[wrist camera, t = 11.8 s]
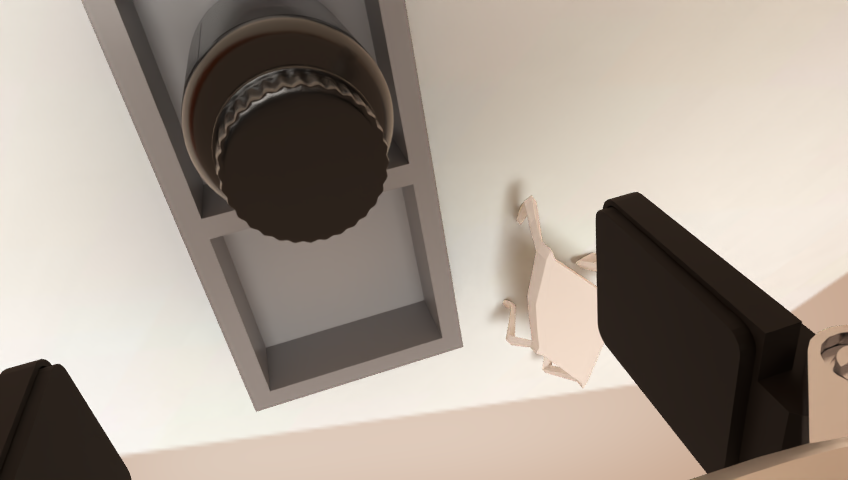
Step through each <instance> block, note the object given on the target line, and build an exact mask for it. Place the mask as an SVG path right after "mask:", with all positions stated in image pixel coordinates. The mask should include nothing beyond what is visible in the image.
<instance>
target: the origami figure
mask: <svg viewBox="0 0 848 480" xmlns="http://www.w3.org/2000/svg"><path fill="white" fill-rule="evenodd" d="M527 216H528V221H529V226H530V230H531V234H532V237H533V241H534V245H535V249H536V254H535V259H534V264H533V270H532V275H531V280H530V285H529V290H528V295H527V300H528V311H529V321H530V328H531V335H532V340H527V339H523V338H518V337H515V314H516V305H515V304H513V303H512V302H510V301H507V300H504V301H503V305H504V306H505V307H506V308H510V309H511V310H510V317H509V323H508V330H507V336H506V340H507V341H508V342H509V343H510V344H511V345H515V346H523V347H531V348H532V350H533V351H534V352H535V353H536V354H540V355H543V356H544V360H543V367H542V369H543V370H544V372H545V373H549V374H552V375H555V376H559V377H562V378H566V379H569V380H573V381H577V382H578V383H579V384H580V386H581V387H582V388H584V386H585V385H586V383H587V381H588V379H589V377H590V375H591V372H592V370H593V368H594V366H595V363H596V361H597V358H598V356H599V354H600V351H601V349H602V346H603V345H604V342H603V340H602V338H601V336H600V333H599V329H598V322H597V286H596V285H594V284H593V283H591V282H590V281H588V280H587V279H585V278H584V277H582V276H581V275H579V274H578V273H576V272H575V271H573V270H572V269H570V268H569V267H567V266H566V265H564V264H563V263H561V262H560V261H558V260H557V259H555V257H554V254H553V251H552V249H551V248H549V247H548V246H547V245H546V244H545V243H543V241H542V235H541V228H540V222H539V215H538V209H537V202H536V201H535V199H534V198H533V196H532V195H531V196H530V197H529V198H528V199H526V200H525V201H524V202H523V203H522V205H521V207H520V210H519V213H518V216H517V220H516V221H517V222H518V223H519V224H520V225H521V224H522V222H523V221H524V219H525V218H526V217H527ZM594 262H596V254H594V253H591V254H589V255H587V256H585V257H584V258H582V259H580V260H578V261H577V263H576V265H578V266H579V267H581V268H583V269H587V270H591V271H595V272H597V264H596V263H594ZM552 362H553V363H555V364H556V365H557V366H559V367H557V366H552Z"/></svg>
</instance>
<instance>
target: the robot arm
mask: <svg viewBox="0 0 848 480" xmlns="http://www.w3.org/2000/svg"><path fill="white" fill-rule="evenodd" d="M596 264H597V322H598V329H599V333H600V336H601V338H602V340H603V342H604V343H605V345H606V346H607V347H608V348H609V350H610V351H611V352H612V354H613V355H614V356H615V357H616V359H617V360H618V361H619V362H620V364H621V365H622V366H623V367H624V369H625V370H626V371H627V373H628V374H629V375H630V376H631V378H632V379H633V380H634V381H635V383H636V384H637V385H638V386H639V388H640V389H641V390H642V392H643V393H644V394H645V395H646V397H647V398H648V399H649V400H650V402H651V403H652V404H653V406H654V407H655V408H656V409H657V410H658V412H659V413H660V414H661V415H662V417H663V418H664V419H665V421H666V422H667V423H668V425H669V426H670V427H671V428H672V430H673V431H674V432H675V433H676V434H677V436H678V437H679V438H680V440H681V441H682V442H683V443H684V445H685V446H686V447H687V449H688V450H689V451H690V452H691V454H692V455H693V456H694V457H695V459H696V460H697V461H698V463H700V465H701V466H702V468H703V469H704V470H705V471H706V473H707V474H705V475H702V476H699V477H697V478H693V479H690V480H848V325H841V326H834V327H829V328H827V329H824V330H822V331H819V332H818V333H817V334H815V333H813V332H812V331H811V330H810V329H808V328H807V327H806V326H804V325H803V324H802V321H801V320H799V319H798V318H797V317H796V316H794V315H793V314H792V313H791V312H789V311H788V310H787V309H786V308H784V307H783V306H782V305H781V304H779V303H778V302H777V301H775V300H774V299H773V298H772V297H770V296H769V295H768V294H767V293H765V292H764V291H763V290H762V289H760V288H759V287H758V286H757V285H755V284H754V283H753V282H752V281H750V280H749V279H748V278H747V277H745V276H744V275H743V274H741V273H740V272H739V271H738V270H736V269H735V268H734V267H733V266H731V265H730V264H729V263H728V262H726V261H725V260H724V259H723V258H721V257H720V256H719V255H718V254H716V253H715V252H714V251H712V250H711V249H710V248H709V247H707V246H706V245H705V244H704V243H702V242H701V241H700V240H699V239H697V238H696V237H695V236H694V235H692V234H691V233H690V232H689V231H687V230H686V229H685V228H684V227H682V226H681V225H680V224H678V223H677V222H676V221H675V220H673V219H672V218H671V217H670V216H668V215H667V214H666V213H665V212H663V211H662V210H661V209H660V208H658V207H657V206H656V205H655V204H653V203H652V202H651V201H649V200H648V199H647V198H646V197H644V196H643V195H642V194H640V193H638V192H633V193H630V194H626V195H623V196H619V197H616V198H612V199H608V200H607V201H605V203H604V206H603V209H602V210H599V211H598V212H597V214H596ZM0 480H131V476H130V473H129V471H128V469H127V467H126V466H125V464H124V462H123V461H122V459H121V457H120V456H119V454H118V453H117V451H116V449H115V448H114V446H113V445H112V443H111V441H110V440H109V438H108V437H107V435H106V433H105V432H104V430H103V429H102V427H101V425H100V424H99V422H98V421H97V419H96V417H95V416H94V414H93V413H92V411H91V409H90V408H89V406H88V405H87V403H86V401H85V400H84V398H83V397H82V395H81V393H80V392H79V390H78V388H77V387H76V385H75V384H74V382H73V380H72V379H71V377H70V376H69V374H68V372H67V371H66V369H65V368H64V367H63V366H62V365H60V364H55V365H51V363H50V362H48V361H47V360H44V359H40V360H36V361H33V362H29V363H26V364H22V365H19V366H15V367H12V368H8V369H6V370H4V371H2V373H1V374H0Z"/></svg>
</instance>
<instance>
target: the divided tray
mask: <svg viewBox="0 0 848 480" xmlns="http://www.w3.org/2000/svg"><path fill="white" fill-rule="evenodd" d="M81 1H82V3H83V5H84V8H85V10H86V12H87V15H88V17H89V19H90V22H91V24H92V27H93V29H94V31H95V34H96V36H97V38H98V41H99V43H100V45H101V48H102V50H103V52H104V55H105V57H106V60H107V62H108V64H109V67H110V69H111V71H112V74H113V76H114V78H115V81H116V83H117V85H118V88H119V90H120V92H121V95H122V97H123V100H124V102H125V104H126V107H127V109H128V111H129V114H130V116H131V118H132V121H133V123H134V125H135V128H136V130H137V132H138V135H139V137H140V140H141V142H142V144H143V147H144V149H145V151H146V154H147V156H148V158H149V161H150V163H151V165H152V168H153V170H154V173H155V175H156V177H157V180H158V182H159V184H160V187H161V189H162V191H163V194H164V196H165V198H166V201H167V203H168V205H169V208H170V210H171V213H172V215H173V217H174V220H175V222H176V224H177V227H178V229H179V231H180V234H181V236H182V238H183V241H184V243H185V245H186V248H187V250H188V253H189V255H190V257H191V260H192V262H193V264H194V267H195V269H196V271H197V274H198V276H199V278H200V281H201V283H202V286H203V288H204V290H205V293H206V295H207V297H208V300H209V302H210V304H211V307H212V309H213V311H214V314H215V316H216V318H217V321H218V323H219V326H220V328H221V330H222V333H223V335H224V337H225V340H226V342H227V344H228V347H229V349H230V351H231V354H232V356H233V358H234V361H235V363H236V366H237V368H238V370H239V373H240V375H241V377H242V380H243V382H244V384H245V387H246V389H247V391H248V394H249V396H250V399H251V401H252V403H253V406H254V408H255V410H256V412H257V411H260V410H263V409H266V408H270V407H273V406H276V405H279V404H282V403H286V402H289V401H292V400H295V399H298V398H301V397H305V396H308V395H311V394H314V393H317V392H321V391H324V390H327V389H330V388H333V387H336V386H340V385H343V384H346V383H349V382H352V381H356V380H359V379H362V378H365V377H368V376H372V375H375V374H378V373H381V372H384V371H387V370H391V369H394V368H397V367H400V366H403V365H407V364H410V363H413V362H416V361H419V360H423V359H426V358H429V357H432V356H435V355H438V354H442V353H445V352H448V351H451V350H454V349H458V348H461V347H463V343H462V337H461V331H460V325H459V319H458V313H457V307H456V301H455V295H454V289H453V283H452V277H451V271H450V265H449V260H448V254H447V248H446V242H445V236H444V230H443V224H442V218H441V212H440V206H439V200H438V194H437V188H436V182H435V176H434V170H433V164H432V158H431V153H430V147H429V141H428V135H427V129H426V123H425V117H424V111H423V105H422V99H421V93H420V87H419V81H418V75H417V69H416V63H415V57H414V52H413V46H412V40H411V34H410V28H409V22H408V16H407V10H406V4H405V0H318V1H319V2H320V3H322V4H323V5H324V6H325V7H326V8H327V9H328V10H330V11H331V12H332V13H333V14H334V16H335V17H336V18H337V19H338V20H339V21H340V22H341V23H342V24H343V25H344V26H345V28H346V29H347V30H348V31H349V32H350V33H351V34H352V35H353V36H354V37H355V38H356V40H357V41H358V42H359V43H360V44H361V45H362V46H363V47H364V48H365V49H366V51H367V52H368V53H369V54H370V56H371V57H372V58H373V60H374V61H375V62H376V64H377V66H378V67H379V69H380V71H381V72H382V74H383V76H384V79H385V81H386V83H387V86H388V88H389V91H390V95H391V99H392V105H393V115H394V125H393V135H392V141H391V145H390V149H389V151H388V154H387V156H388V158H389V164H388V167H387V169H386V170H387V174H388V177H387V179H386V181H385V182H384V184H383V187H384V189H383V192H382V193H381V195H380V196H379V197H378V199H377V203H376V205H375V206H374V207H372V208H371V209H370V210H369V212H368V214H367V216H366V217H364V218H362V219H360V220H359V221H358V222H357V224H356V225H355V226H354V227H351V228H348V229H346V230H345V231H344V232H343V233H342V234H340V235H333V236H332V237H330V238H329V239H327V240H316V241H314V242H312V243H309V242H304V241H302V242H298V243H293V242H291V241H288V240H285V241H279V240H277V239H276V238H274V237H272V236H264V235H263V234H262V233H261V232H260V231H259V230H256V229H252V228H250V227H249V226H248V224H247V222H246V221H244V220H242V219H240V218H238V217H237V214H236V212H235V210H234V209H233V208H231V207H230V206H229V205H228V204H227V201H225V200H224V199H223V198H221V197H220V196H219V195H218V194H217V193H216V192H214V191H213V190H212V189H211V188H210V187H209V186H208V184H207V183H206V182H205V181H204V180H203V178H202V177H201V176H200V174H199V173H198V171H197V170H196V168H195V166H194V164H193V163H192V161H191V158H190V156H189V154H188V151H187V148H186V145H185V141H184V137H183V131H182V121H181V107H182V98H183V91H184V83H185V76H186V69H187V62H188V55H189V50H190V45H191V41H192V38H193V35H194V32H195V30H196V28H197V26H198V24H199V22H200V21H201V19H202V17H203V16H204V15H205V13H206V12H207V11H208V10H209V9H210V8H211V7H212V6H213V5H214V4H215V3H216V2H217V1H218V0H81Z"/></svg>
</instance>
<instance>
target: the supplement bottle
mask: <svg viewBox="0 0 848 480" xmlns="http://www.w3.org/2000/svg"><path fill="white" fill-rule="evenodd" d="M181 121H182V131H183V137H184V141H185V145H186V148H187V151H188V154H189V156H190V158H191V161H192V163H193V164H194V166H195V168H196V170H197V171H198V173H199V174H200V176H201V177H202V178H203V180H204V181H205V182H206V183H207V184H208V186H209V187H210V188H211V189H212V190H213V191H214V192H216V193H217V194H218V195H219V196H220V197H221V198H223V199H224V200H225V201H227V204H228V205H229V206H230V207H231V208H233V209H234V210H235V212H236V214H237V217H238V218H240V219H242V220H244V221H246V222H247V224H248V226H249V227H250V228H252V229H256V230H259V231H260V232H261V233H262V234H263V235H264V236H272V237H274V238H276V239H277V240H279V241H285V240H288V241H291V242H293V243H298V242H302V241H304V242H309V243H312V242H314V241H316V240H327V239H329V238H330V237H332V236H333V235H340V234H342V233H343V232H344V231H345V230H346V229H348V228H351V227H354V226H355V225H356V224H357V222H358V221H359V220H360V219H362V218H364V217H366V216H367V214H368V212H369V210H370V209H371V208H372V207H374V206H375V205H376V203H377V199H378V197H379V196H380V195H381V193H382V192H383V189H384V187H383V184H384V182H385V181H386V179H387V177H388V174H387V170H386V169H387V167H388V164H389V158H388V156H387V154H388V151H389V149H390V145H391V141H392V135H393V125H394V115H393V105H392V99H391V95H390V91H389V88H388V86H387V83H386V81H385V79H384V76H383V74H382V72H381V71H380V69H379V67H378V66H377V64H376V62H375V61H374V60H373V58H372V57H371V56H370V54H369V53H368V52H367V51H366V49H365V48H364V47H363V46H362V45H361V44H360V43H359V42H358V41H357V40H356V38H355V37H354V36H353V35H352V34H351V33H350V32H349V31H348V30H347V29H346V28H345V26H344V25H343V24H342V23H341V22H340V21H339V20H338V19H337V18H336V17H335V16H334V14H333V13H332V12H331V11H330V10H328V9H327V8H326V7H325V6H324V5H323V4H322V3H320V2H319V1H318V0H218V1H217V2H216V3H215V4H214V5H213V6H212V7H211V8H210V9H209V10H208V11H207V12H206V13H205V15H204V16H203V17H202V19H201V21H200V22H199V24H198V26H197V28H196V30H195V32H194V35H193V38H192V41H191V45H190V50H189V55H188V62H187V69H186V76H185V83H184V91H183V98H182V107H181Z"/></svg>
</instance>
